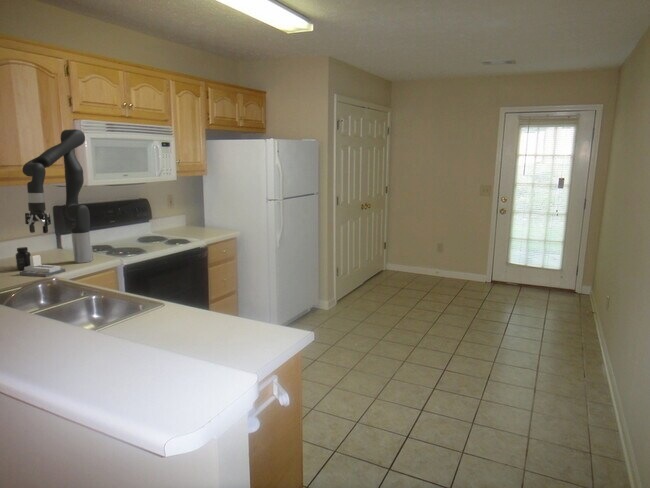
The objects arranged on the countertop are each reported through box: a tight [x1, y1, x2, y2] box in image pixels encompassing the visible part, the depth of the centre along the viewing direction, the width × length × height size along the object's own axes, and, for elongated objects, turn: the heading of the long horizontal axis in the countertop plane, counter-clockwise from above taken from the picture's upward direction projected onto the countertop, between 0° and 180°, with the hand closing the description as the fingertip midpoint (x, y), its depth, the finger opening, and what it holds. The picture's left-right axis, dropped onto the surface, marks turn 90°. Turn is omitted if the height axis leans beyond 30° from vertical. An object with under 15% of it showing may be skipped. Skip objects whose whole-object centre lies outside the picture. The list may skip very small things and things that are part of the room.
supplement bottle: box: [15, 246, 32, 271], centre depth 243 cm, size 7×7×12 cm
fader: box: [30, 254, 42, 267], centre depth 234 cm, size 4×4×8 cm
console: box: [19, 264, 66, 278], centre depth 234 cm, size 12×17×4 cm
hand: (38, 232), depth 234 cm, fingers open, 8 cm apart
